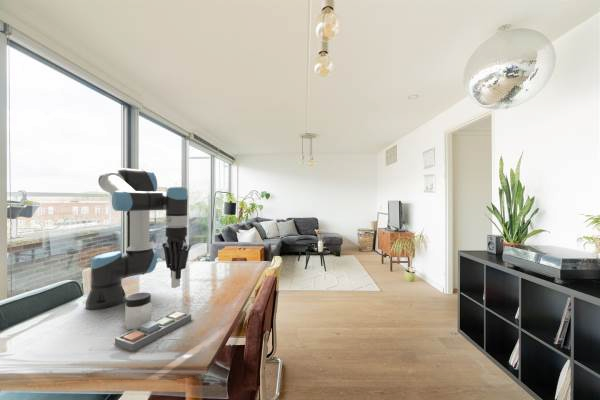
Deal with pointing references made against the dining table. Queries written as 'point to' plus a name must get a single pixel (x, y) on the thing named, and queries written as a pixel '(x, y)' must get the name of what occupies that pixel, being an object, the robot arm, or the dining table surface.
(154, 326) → the key slate
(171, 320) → the key sage
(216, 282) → the dining table surface
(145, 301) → the jar
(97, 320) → the dining table surface
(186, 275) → the dining table surface
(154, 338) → the grey compartment tray
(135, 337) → the key terracotta
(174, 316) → the key cream
